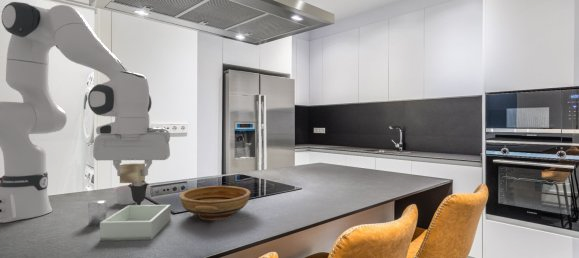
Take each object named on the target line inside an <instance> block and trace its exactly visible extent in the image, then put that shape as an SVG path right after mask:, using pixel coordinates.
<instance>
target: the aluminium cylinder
mask: <svg viewBox="0 0 579 258" xmlns="http://www.w3.org/2000/svg"><path fill="white" fill-rule="evenodd" d="M107 203H108V201H107V200H105V199H99V200H98V199H97V200H92V201H89V202H88V204H87V207H88V210H87V211H88V212H87V213H88V215H87V216H88V217H87V218H88V219H87V223H88V225H87V226H89V227H100V222H102V221H103V220H105V219H107V218H108V217H107V216H108V207H107V206H108V204H107Z"/></svg>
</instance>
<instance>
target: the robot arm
mask: <svg viewBox="0 0 579 258" xmlns="http://www.w3.org/2000/svg"><path fill="white" fill-rule="evenodd" d="M1 24H2V25H3V27H4V29H5V31H7V32H8V33H10V34H11V36H10V39H9V42H8V46H7V47H8V48H7V52H6V53H7V54H6V64H5V65H6V67H5V82H6V84H7V85H8V86H9V87H10V88H12V90H15V91H17V92H18V93H19V94H20V95H21V97H22V100H23V101H22V102H21V101H20V102H17V101H0V149H1V152H2V156H3V167H4V168H3V169H4V170H3V171H4V175H3V176H1V177H0V223H2V224H3V223H9V222H14V221H19V220H26V219H31V218H36V217H40V216H44V215H46V214H49V213H51V212H52V211H53V208H52V206H51V203H50V198H49V193H48V185H49V184H48V183H49V178H48V177H49V176H48V172H47V153H46V151H45V149H44V148H42V147H40V146H39V145H37V144H34V143H33V141H32V140H31V139H30V136H29V135H39V134H42V135H45V134H46V135H47V134H50V133H56V132H58V131H59V132H60V131H62V130H63V129H64V128H65V126H66V124H67V119H68V118H67V114H66V111H65V110H64V108H62V107H61V106H59V105H58V103H56V102H55V100H54V98H53V96H52V94H51V92H50V91H51V90H50V87H49V66H50V64H49V61H50V57H49V54H50V51H51V50H52V48H54V47H56V48H57V49H58V50H59V51H60V53H61V54H62V55H63V56H64V57H65V58H66V59H67V60H69V61H71V62H73V63H75V64H76V65H77V64H78V65H81V66H84V67H86V68H89V69H92V70H95V71H98V72H100V73H101V74H103V75H105V76H106V78H108V79H109V80H107V81H106V82H103V83H98V84H96V85H94V86H93V87H92V88H91V89H90V90H89V93H88V95H87V96H88V98H87V102H88V106H89V108H90V110H91V111H92V113H94V114H95V115H97V116H99V117H100V116H102V117H112V118H113V117H114V121H113V122H110V123H107V124H103V125H100V126H97V127H96V128H95V132H96V134H97V136H96V137H95V138H94V141H93V148H92V154H93V159H95V161H112V164H113V167H114V168H115V170H116V171H117V172H116V173H117V174H116V175H117V177H120V165H121V164H122V161H144V162H143V163H145V168H144V169H142V170H141V176H145V177H147V176H148V175H149V169H150V168H151V166H152V164H153V161H166V160H168V159H169V158H170V157H171V150H170V143H169V142H170V138H171V137H170V136H171V134H170V132H169V131H168V130H167V129H165V128H164V127H160V128H157V127H150V114H149V112H150V110H151V109H152V97H151V95H150V88H149V82H148V79H147V76H145V75H144V74H141V73H136V72H131V71H129V70H128V69H127V68H126V67H125V66H124V64H123V63H122V62H121V60H120V59H119V58H118V57H117V56H116V55H115V54H114V53H113V52H112V51H111V50H109V49H108V48H107V46H106V45H105V44H104V43H103V42H102V41H101V40H100V38H99V37H97V35H96V34H95V32H94V31H93V29H92V27H91V26H90V25H89V23H88V21H86V19H85V18H84V16H83V15H82V14H81V13H80V12H79V11H78V10H76V9H75V8H74V7H72V6H69V5H64V4H59V5H55V6H52V7H50V9H48V8H43V7H39V6H35V5H32V4H31V5H30V4H29V3H26V2H22V1H21V2H20V1H19V2H18V1H11V2H9V3H8V4H6V5H5V6H4V8H3V9H2V12H1Z"/></svg>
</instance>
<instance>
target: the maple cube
mask: <svg viewBox="0 0 579 258" xmlns="http://www.w3.org/2000/svg"><path fill="white" fill-rule="evenodd" d="M145 166H146V164H145V162H126V163H123V164H120V176H119V184H132V183H139V182H141V181H143V180H145V181H146V176H141V170H142V169H144V168H145Z"/></svg>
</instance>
